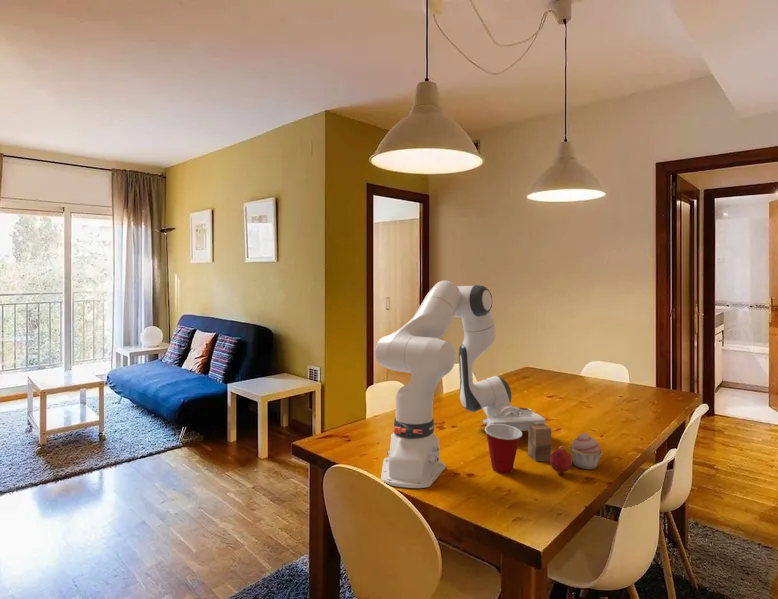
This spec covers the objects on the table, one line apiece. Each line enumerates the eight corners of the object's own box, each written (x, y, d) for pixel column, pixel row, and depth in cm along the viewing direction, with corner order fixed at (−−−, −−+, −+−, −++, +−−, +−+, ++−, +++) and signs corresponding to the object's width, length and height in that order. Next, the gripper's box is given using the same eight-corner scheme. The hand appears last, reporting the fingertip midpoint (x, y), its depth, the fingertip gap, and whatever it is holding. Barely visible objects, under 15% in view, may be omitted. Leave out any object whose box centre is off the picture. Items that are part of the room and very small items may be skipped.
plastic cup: (505, 481, 129) (505, 438, 129) (476, 468, 138) (476, 428, 138) (530, 471, 136) (530, 430, 135) (500, 459, 145) (501, 421, 144)
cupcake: (608, 472, 135) (608, 438, 135) (575, 471, 135) (576, 438, 135) (594, 459, 145) (595, 427, 144) (564, 459, 145) (564, 427, 144)
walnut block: (550, 460, 144) (551, 428, 143) (535, 461, 143) (535, 429, 143) (542, 454, 149) (543, 423, 148) (528, 455, 148) (528, 424, 148)
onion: (563, 479, 130) (563, 451, 130) (545, 472, 135) (545, 445, 134) (575, 474, 134) (575, 447, 133) (557, 468, 138) (557, 441, 138)
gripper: (480, 410, 167) (495, 422, 154) (534, 408, 171) (553, 419, 157) (480, 428, 167) (495, 441, 154) (533, 425, 171) (553, 438, 157)
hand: (525, 430), depth 155 cm, fingers open, 8 cm apart
